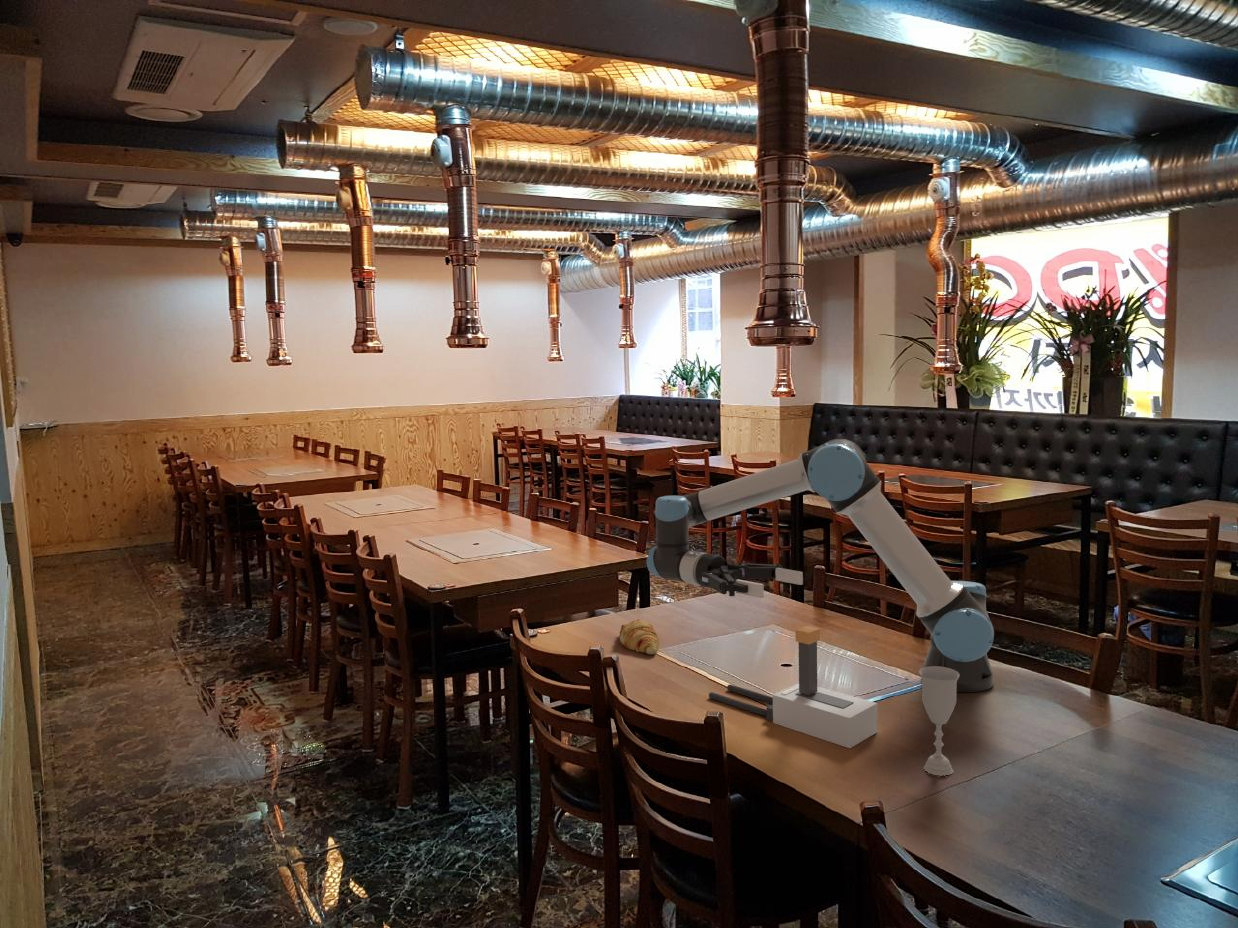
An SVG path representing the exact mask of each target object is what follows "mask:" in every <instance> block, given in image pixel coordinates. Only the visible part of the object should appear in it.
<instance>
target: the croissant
mask: <svg viewBox="0 0 1238 928" xmlns="http://www.w3.org/2000/svg"><path fill="white" fill-rule="evenodd" d="M618 635H619V641H620V643H621V645H622V646H624V647H625V648H627V649H628V650H631V651H635V652H637V653H643V654H646V655H655V654H656V653H657V652H658V651H659V647H660V640H659V637H658V635H657V632H656V631H655V628H654V626H653V625H652V624H650V623H648V622H647V621H644V620H641V619H636V620H632V621H630V622H628V623H626V624H621V626H620V631H619V634H618Z"/></svg>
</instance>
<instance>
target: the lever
mask: <svg viewBox="0 0 1238 928" xmlns="http://www.w3.org/2000/svg"><path fill="white" fill-rule="evenodd" d="M820 632H821V629H820V627H814V626H809V625H804V626H801V627H799V628H797V629H795V642H797V643H798V683H799V693H802V694H806V695H811V694H813V693H815V692H817V686H818V641H820V640H821V639H820V637H821V635H820V634H821V633H820Z"/></svg>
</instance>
